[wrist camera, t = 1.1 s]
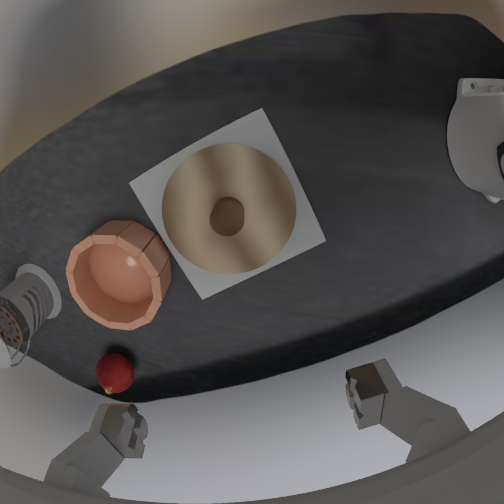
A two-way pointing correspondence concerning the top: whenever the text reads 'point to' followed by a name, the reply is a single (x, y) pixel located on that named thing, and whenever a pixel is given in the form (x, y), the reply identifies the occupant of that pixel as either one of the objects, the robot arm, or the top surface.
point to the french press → (26, 308)
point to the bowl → (119, 274)
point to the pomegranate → (114, 373)
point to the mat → (248, 134)
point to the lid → (229, 209)
